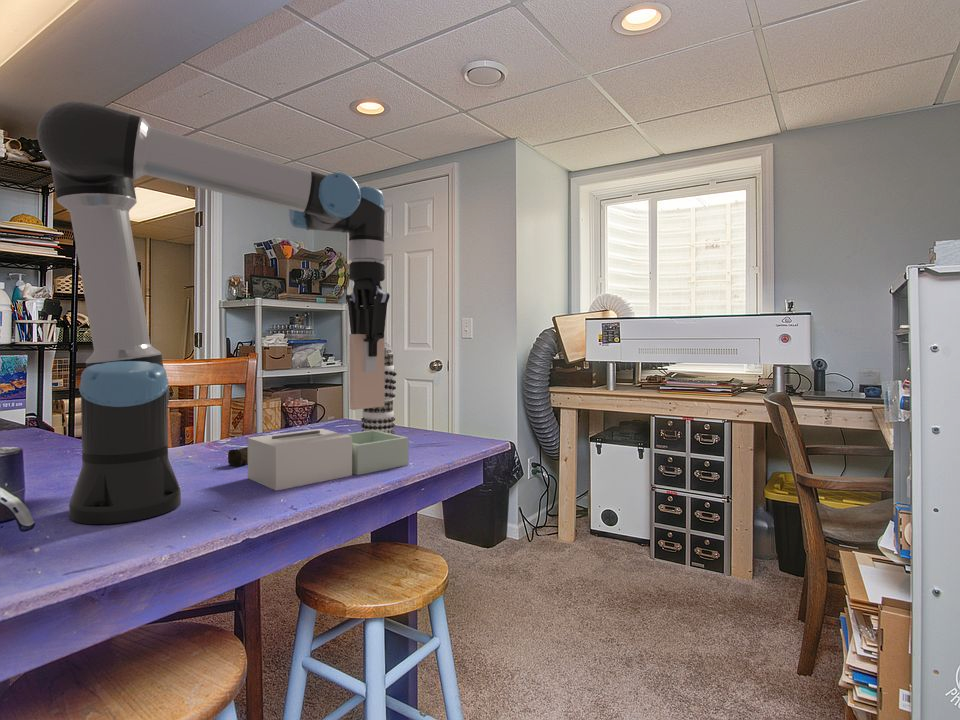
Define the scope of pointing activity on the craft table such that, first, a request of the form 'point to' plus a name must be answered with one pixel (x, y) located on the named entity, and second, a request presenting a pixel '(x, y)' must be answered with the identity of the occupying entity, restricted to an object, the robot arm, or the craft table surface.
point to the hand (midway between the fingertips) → (367, 371)
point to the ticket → (365, 375)
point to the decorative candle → (384, 415)
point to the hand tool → (238, 457)
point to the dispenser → (299, 458)
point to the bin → (378, 451)
